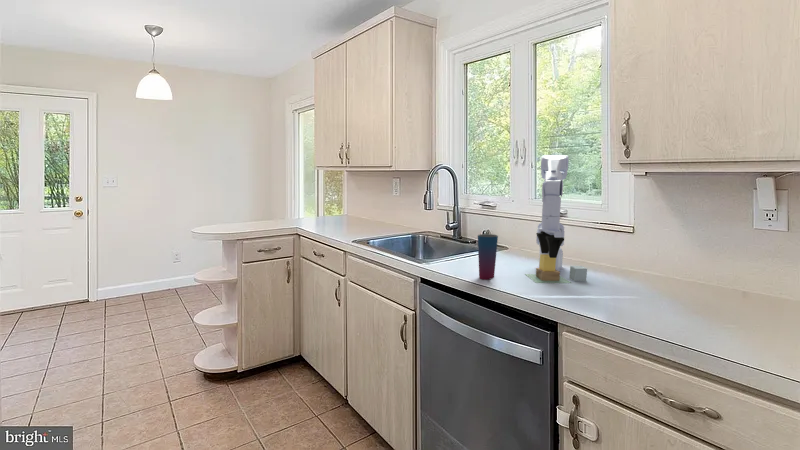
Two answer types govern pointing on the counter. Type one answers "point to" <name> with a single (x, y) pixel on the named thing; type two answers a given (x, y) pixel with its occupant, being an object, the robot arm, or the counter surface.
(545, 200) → the robot arm
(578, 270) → the brick
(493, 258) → the cup
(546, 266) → the mustard brick
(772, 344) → the counter surface
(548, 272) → the base brick
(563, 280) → the baseplate
